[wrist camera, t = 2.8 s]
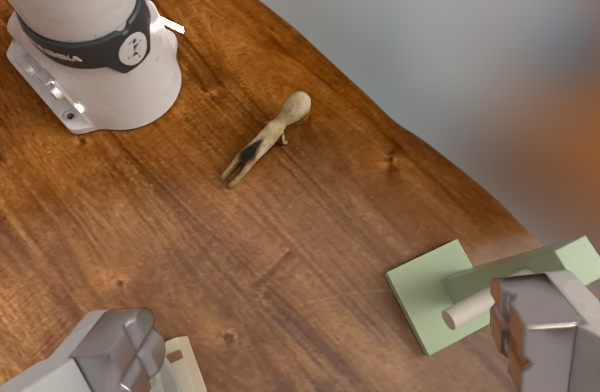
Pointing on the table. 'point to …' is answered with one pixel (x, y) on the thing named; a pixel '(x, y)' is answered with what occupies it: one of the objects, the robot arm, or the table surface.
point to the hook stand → (473, 286)
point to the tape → (165, 379)
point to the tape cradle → (184, 364)
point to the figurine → (268, 136)
